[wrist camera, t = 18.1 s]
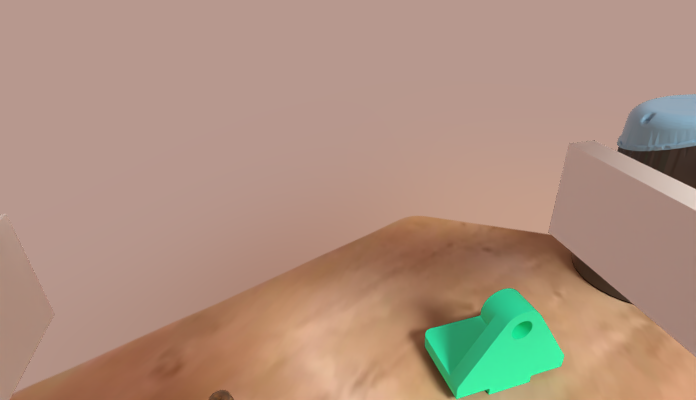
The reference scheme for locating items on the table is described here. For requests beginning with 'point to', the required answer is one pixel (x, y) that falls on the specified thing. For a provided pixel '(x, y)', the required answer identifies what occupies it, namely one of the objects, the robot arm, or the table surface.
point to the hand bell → (221, 395)
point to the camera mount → (494, 346)
